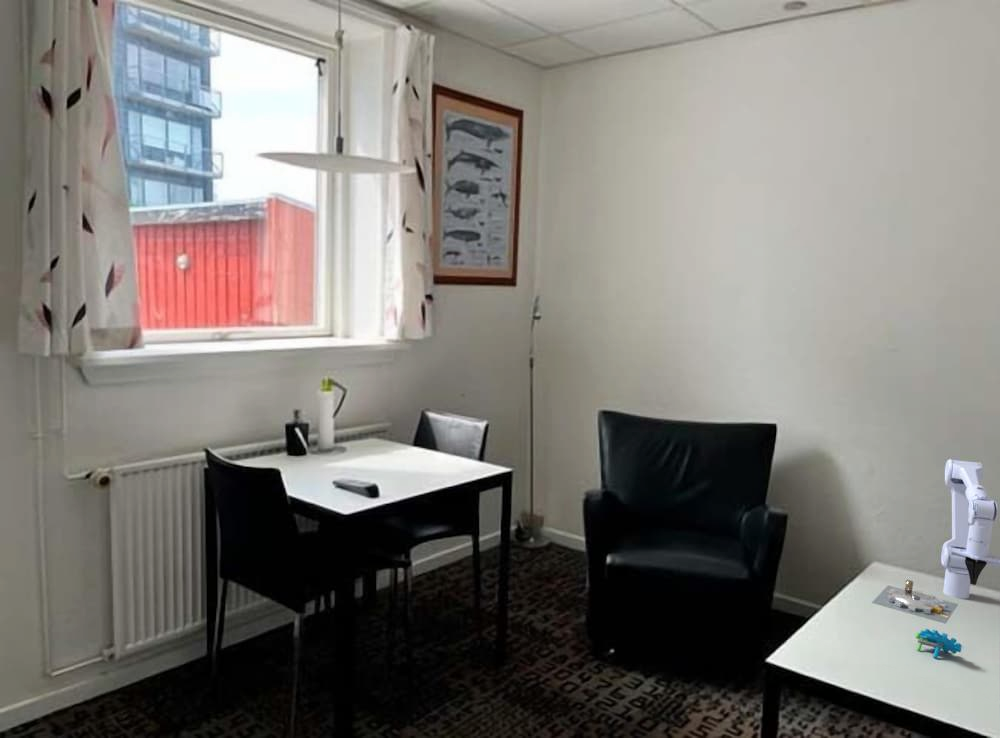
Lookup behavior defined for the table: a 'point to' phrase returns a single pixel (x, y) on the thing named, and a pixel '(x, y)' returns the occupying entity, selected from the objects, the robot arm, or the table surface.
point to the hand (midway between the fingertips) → (973, 583)
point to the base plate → (939, 617)
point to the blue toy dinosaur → (937, 642)
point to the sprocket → (915, 599)
